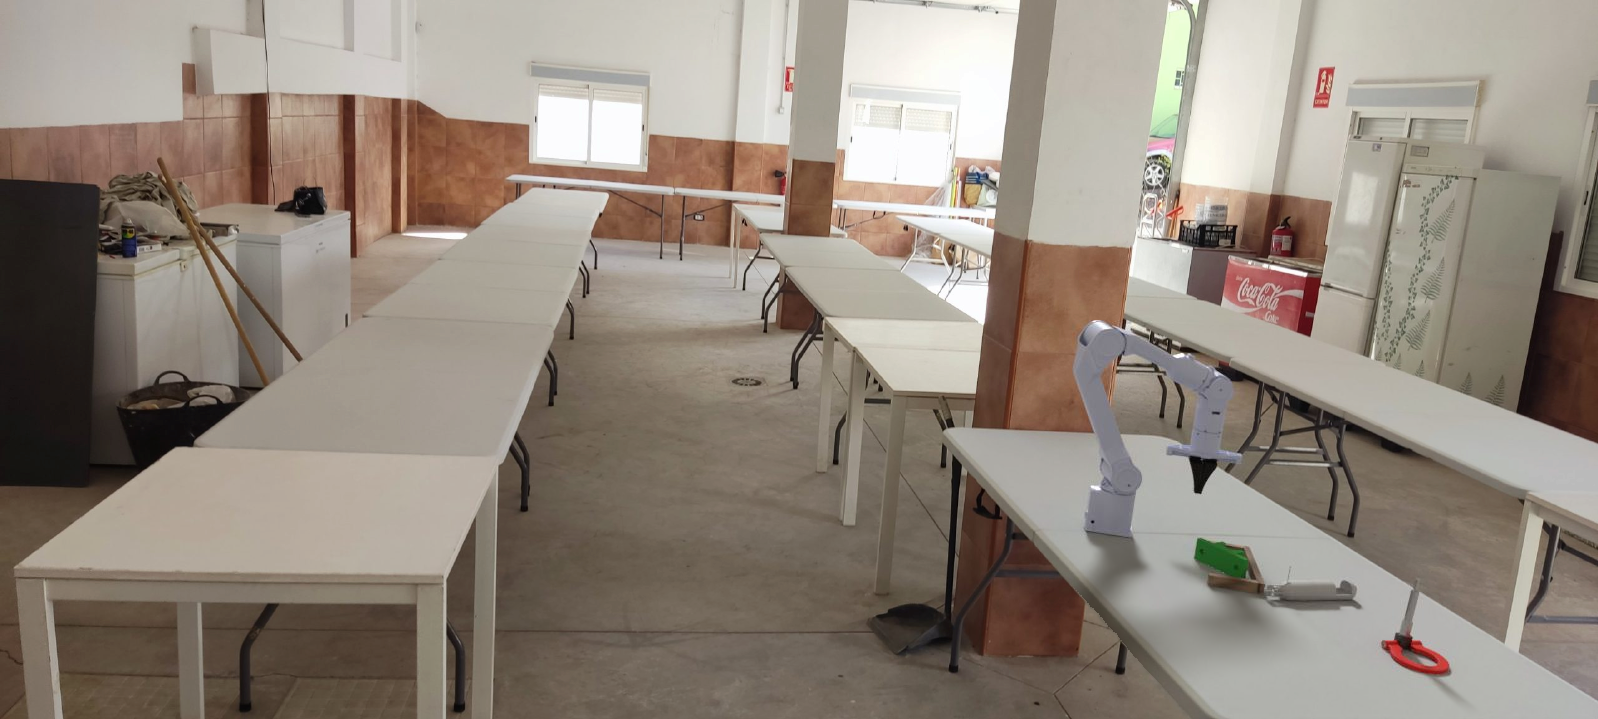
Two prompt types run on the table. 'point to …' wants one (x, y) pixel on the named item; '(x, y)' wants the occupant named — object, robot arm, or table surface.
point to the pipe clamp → (1221, 558)
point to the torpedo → (1312, 590)
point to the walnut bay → (1241, 584)
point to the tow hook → (1413, 641)
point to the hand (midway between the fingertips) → (1197, 492)
